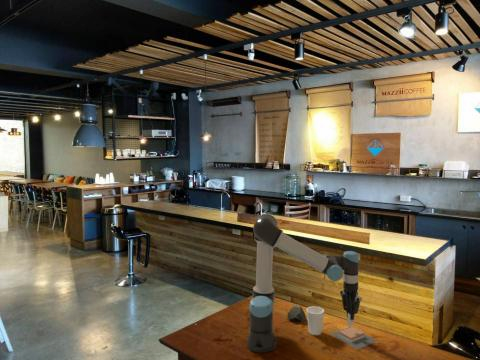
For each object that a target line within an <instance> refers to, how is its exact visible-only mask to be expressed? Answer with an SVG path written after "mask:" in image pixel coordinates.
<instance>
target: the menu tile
mask: <svg viewBox="0 0 480 360" xmlns="http://www.w3.org/2000/svg"><path fill="white" fill-rule="evenodd" d="M349 327H350V328H348V327H346V328H347V329H346V328H344V329H345V330H343V329H341V330H342V331H340V330H338V331H339V336H340V337H342V338H344V339H346V340H348V341H349V342H353V341H356V340H358V339H361V338H363V337H364V334H365V332H364V331H362V330H360V329H358V328H356V327H354V326H349Z"/></svg>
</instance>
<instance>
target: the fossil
mask: <svg viewBox="0 0 480 360" xmlns="http://www.w3.org/2000/svg"><path fill="white" fill-rule="evenodd" d="M286 318H287V319H288V320H289V321H292V322H293V321H294V320H297V321H300V322H305V321H306V320H307V315H306V312H305V311H304V309H303V307H302V306H301V305H300V304H298V303H297V304H295V305H292V307H291V308H290V309H289V311H288V312H287V314H286Z"/></svg>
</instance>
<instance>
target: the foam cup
mask: <svg viewBox="0 0 480 360" xmlns="http://www.w3.org/2000/svg"><path fill="white" fill-rule="evenodd" d="M305 316H306V320H307V325H308V326H307V327H308V333H309V334H310V335H312V336H320V335H321V334H322V331H323V325H324V324H323V323H324V317H325V309H324V308H322V307H319V306H308V307H307V308H306V312H305Z"/></svg>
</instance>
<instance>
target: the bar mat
mask: <svg viewBox="0 0 480 360" xmlns="http://www.w3.org/2000/svg"><path fill="white" fill-rule="evenodd" d="M350 327H351V326H349V327H346V328H343V329H341V330H338V331H335V332H333V333H331V334H330V335H331V336H333V337H334V338H337V339H338V340H340V341H341V342H342V343H345V344H347V345H349V346H350V347H352V348H353V349H356V350H359V349H362V348H364V347H367V346H369V345H371V344H374V343H376V342H378V340H376V339H374V338H373V337H371V336H369V335H367V334H365V333H364V337H363V338H361V339H358V340H356V341H353V342H349V341H348V340H346V339H344V338H342V337H340V336H339V331H342V330H345V329H347V328H350Z"/></svg>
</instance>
